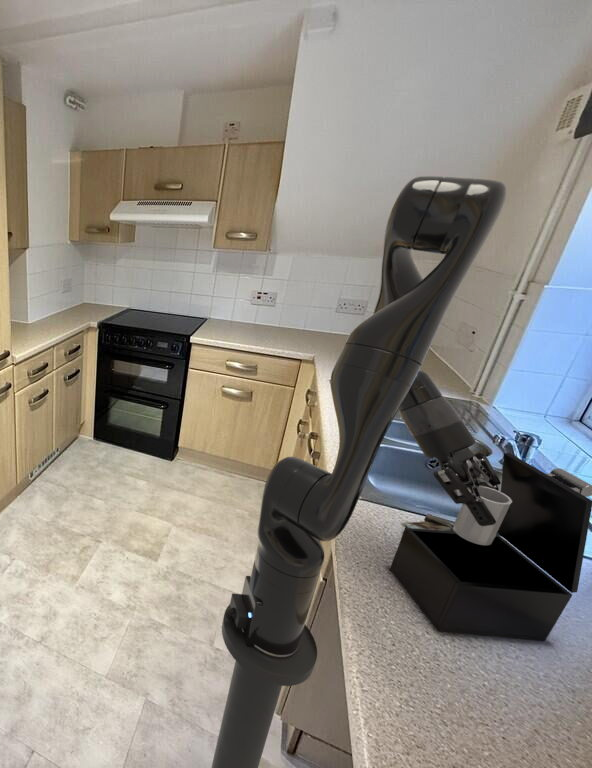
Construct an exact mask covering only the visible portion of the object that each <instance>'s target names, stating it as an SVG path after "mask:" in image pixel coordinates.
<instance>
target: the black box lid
mask: <svg viewBox="0 0 592 768" xmlns="http://www.w3.org/2000/svg"><path fill="white" fill-rule="evenodd" d="M500 492H502V493H504V494H505V495H507V496H508V497H510V498H511V500H512V504H511V506H510V508H509V509H510V513H509V514H506V516H505V518H504V520H503V523H502V525H501V527H500V529H499V531H498V533H497V535H499V536H501V537H502V538H503V539H504V540H506V541H507V542H508V543H509V544H511V545H512V546H513V547H514V548H515V549H517V550H518V551H519V552H520V553H522V554H523V555H524V556H525V557H527V558H528V559H529V560H530V561H532V562H533V563H534V564H535V565H536V566H538V567H539V568H540V569H541V570H543V571H544V572H545V573H546V574H548V575H549V576H550V577H551V578H553V579H554V580H555V581H556V582H557V583H559V584H560V585H561V586H562V587H564V588H565V589H566V590H567V591H569V592H570V593H571V594H573V593H574V594H575V593H578V590H579V584H580V580H581V579H580V578H581V572H582V567H583V560H584V555H585V550H586V544H587V538H588V532H589V526H590V521H591V514H592V499H591V498H588V497H591V496H592V484H590V483H589V482H587V481H585V480H584V479H581V478H579V477H577V476H576V475H575V474H572V473H570V472H568V471H566V470H565V469H563V468H560V467H556V468H554V469H552V470H551V471H550V472H549V473H545V472H544V471H542V470H540V469H538V468H537V467H536V466H533V465H531V464H530V463H528V462H526V461H524V460H522V459H521V458H519V457H518V456H516V455H514V454H512V453H510V452H504V453H503V460H502V471H501V484H500Z"/></svg>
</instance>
